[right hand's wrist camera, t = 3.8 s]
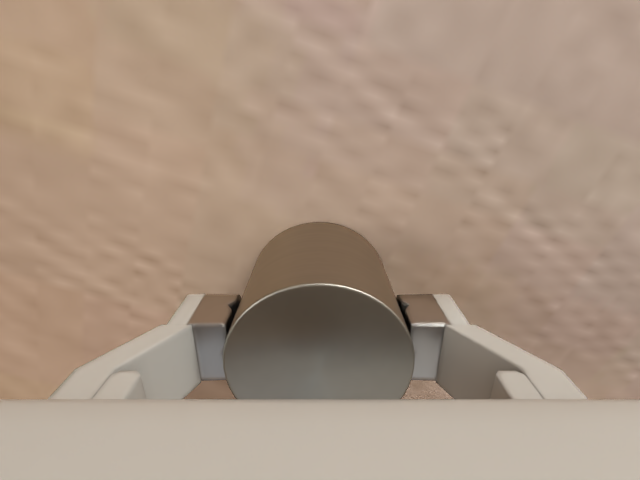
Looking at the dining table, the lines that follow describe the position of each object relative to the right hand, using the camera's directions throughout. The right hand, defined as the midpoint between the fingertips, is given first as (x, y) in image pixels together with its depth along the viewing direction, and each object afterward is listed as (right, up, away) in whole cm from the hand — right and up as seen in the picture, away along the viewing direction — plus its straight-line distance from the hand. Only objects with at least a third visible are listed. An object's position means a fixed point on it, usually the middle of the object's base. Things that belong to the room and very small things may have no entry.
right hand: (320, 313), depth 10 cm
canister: (0, +1, +2) cm, 2 cm away
